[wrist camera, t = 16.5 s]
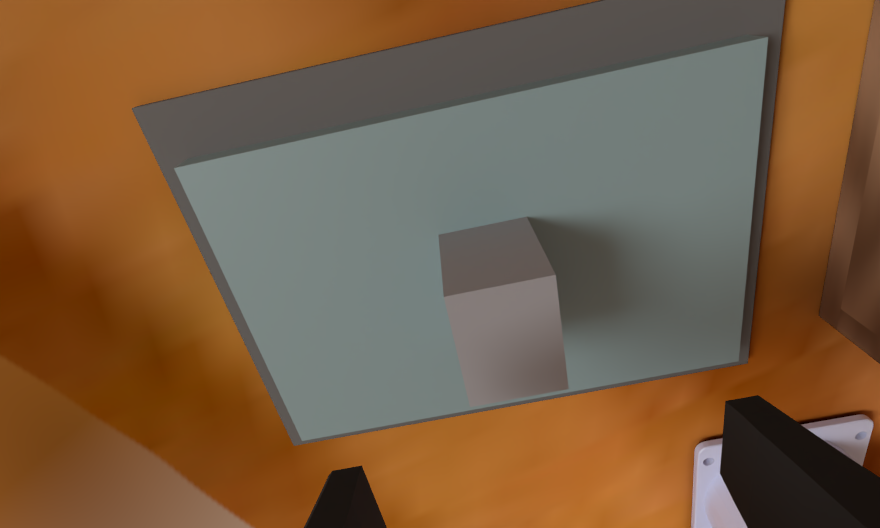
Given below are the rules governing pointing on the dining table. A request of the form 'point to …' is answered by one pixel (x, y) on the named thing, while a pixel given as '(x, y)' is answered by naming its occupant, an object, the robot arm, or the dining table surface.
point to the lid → (496, 240)
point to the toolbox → (859, 218)
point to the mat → (449, 78)
